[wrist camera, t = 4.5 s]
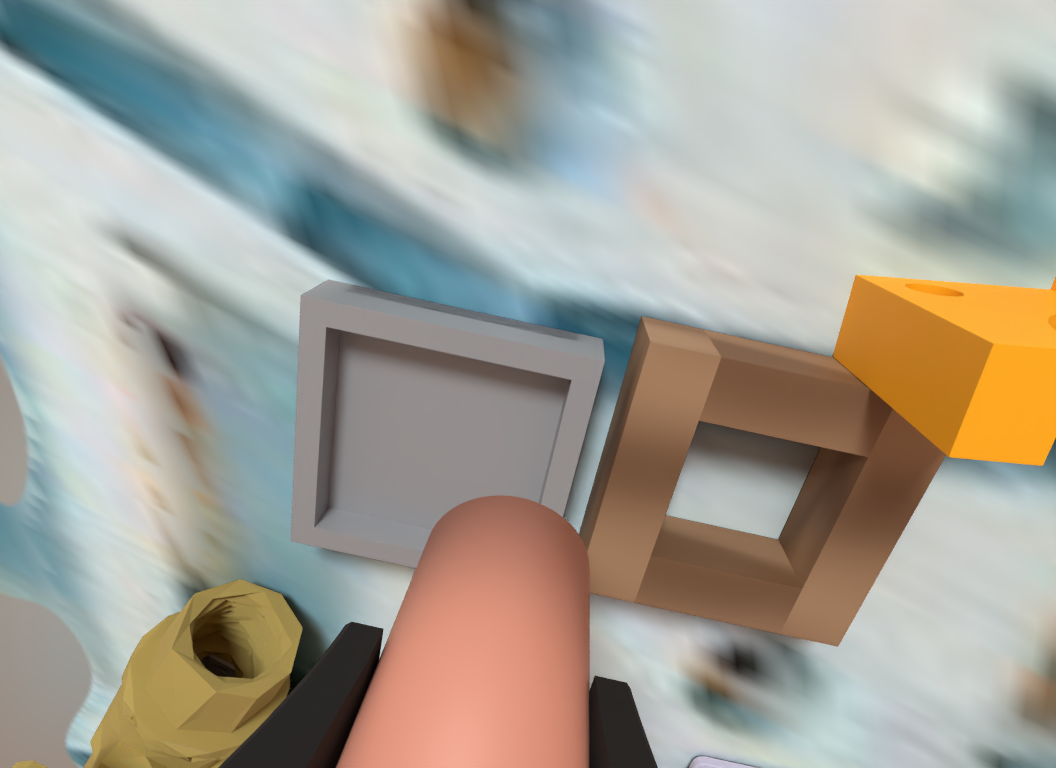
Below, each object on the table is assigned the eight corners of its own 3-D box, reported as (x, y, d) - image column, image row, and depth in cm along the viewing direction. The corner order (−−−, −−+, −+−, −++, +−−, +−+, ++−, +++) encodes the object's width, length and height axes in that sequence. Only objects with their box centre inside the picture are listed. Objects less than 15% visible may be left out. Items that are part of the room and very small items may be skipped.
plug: (567, 643, 15) (549, 1026, 8) (415, 606, 15) (283, 961, 8) (609, 518, 13) (627, 874, 7) (438, 478, 13) (298, 795, 7)
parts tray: (545, 557, 22) (541, 595, 20) (314, 507, 22) (290, 540, 20) (602, 338, 19) (604, 360, 17) (328, 279, 19) (300, 295, 17)
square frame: (811, 593, 22) (837, 646, 20) (576, 542, 22) (575, 590, 20) (921, 376, 18) (971, 410, 16) (641, 316, 18) (650, 341, 16)
